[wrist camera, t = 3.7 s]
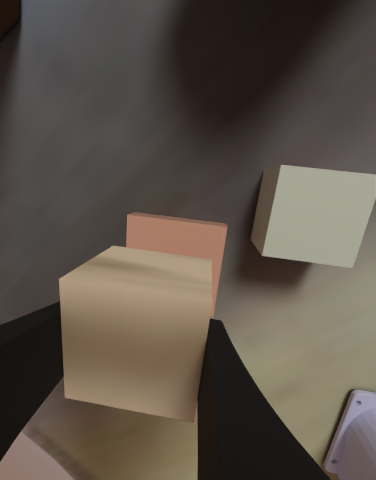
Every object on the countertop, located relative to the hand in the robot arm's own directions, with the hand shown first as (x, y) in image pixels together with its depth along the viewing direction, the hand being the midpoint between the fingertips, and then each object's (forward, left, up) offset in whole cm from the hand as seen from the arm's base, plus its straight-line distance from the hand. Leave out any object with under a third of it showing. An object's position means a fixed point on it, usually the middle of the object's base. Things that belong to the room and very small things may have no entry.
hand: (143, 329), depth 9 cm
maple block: (0, 0, -2) cm, 3 cm away
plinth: (0, 0, -8) cm, 8 cm away
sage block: (+5, -8, -9) cm, 13 cm away
